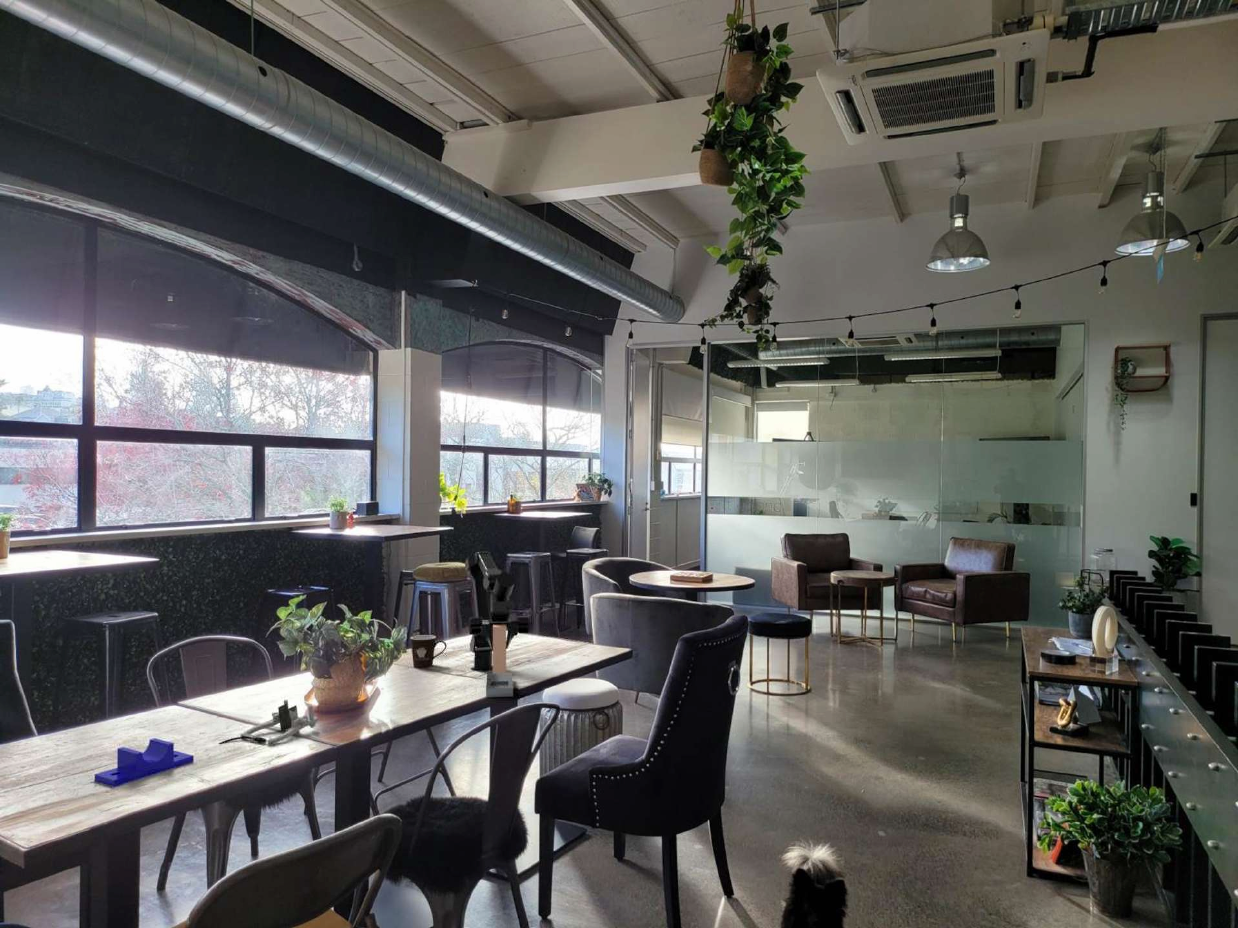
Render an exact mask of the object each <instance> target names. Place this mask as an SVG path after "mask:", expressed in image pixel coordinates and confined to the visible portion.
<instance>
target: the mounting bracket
mask: <svg viewBox="0 0 1238 928" xmlns="http://www.w3.org/2000/svg"><path fill="white" fill-rule="evenodd" d="M174 749H175V744H174V742H170V741H167V740H163V739H159V738H155V737H154V738H151V739H150V738H149V741H148V745H147V747H146V749H145V750H144V752H143V751H138V750H136V749H135V750H134V749H132V748H128V747H124V746H122V747H117V751H116V752H117V753H116V754H117V760H116V761H117V762H116V763H117V764H116V766H117V767H115V768H112V769H108V770H104V771H101V772H98V773H95V774H94V782H97V783H101V784H103V785H106V786H110V787H112V788H114V787H117V786H121V785H125V784H127V783H131V782H134V781H136V780H137V781H138V780H141V779H143V778H147V777H149V776H152V775H156V774H159V773H162V772H166V771H169V770H172V769H175V768H179V767H181V766H184V765H185V766H186V765H188V764H191V763H194V757H195V756H194V755H192V754H190V753H189V754H188V753H185V752H181V751H177V750H174Z"/></svg>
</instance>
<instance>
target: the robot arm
mask: <svg viewBox="0 0 1238 928" xmlns="http://www.w3.org/2000/svg"><path fill="white" fill-rule="evenodd" d="M464 568H465V572H466V576H467V578H468V580H470V582H471V583H472V587H473V589H472V590H473V598H474V607H475V617H474V616H473V617H470V618H469V620H468V632H469V635H472V636H471V639H470V642H469V651H470V652H471V653H473V654H474V657H473V660H474V661H473V663H474V664H473V665H474V666H472V667H470V670H472V671H482V672H487V671H490V670H493V625H506V629H507V632H506V650H507V649H509V646H510V644H511V641H512V640H513V639H514V637H516V636H518V635H519V634H529V633H530V630H531V628H530V626H531V617H529V616H528V615H526V616H525V615H524V616H522V615H521V616H519V615H518V616H516V620H515V621H511V620H510V612H514V609H515V608H514V607H515V606H514V605H515V604H514V603H515V602H514V600H513V599H510V596H511V595H512V592H513V588H514V586H515V583H516V580H515V579H516V578H515V577H514V576H513V575H512V574H510V573H508V571H507V570H501V569H498V566H496V563H495V562H494V560H493V558H492V553H491V552H490V551H477V552H475V553H474V554H473V555H471V556H468V557H467V558H466V560H465V563H464ZM488 592H491V593H490V607H489V600H488V599H489V598H488ZM489 608H490V609H489Z"/></svg>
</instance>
